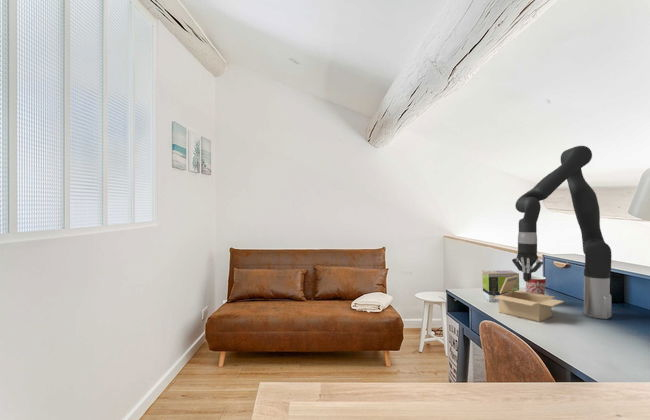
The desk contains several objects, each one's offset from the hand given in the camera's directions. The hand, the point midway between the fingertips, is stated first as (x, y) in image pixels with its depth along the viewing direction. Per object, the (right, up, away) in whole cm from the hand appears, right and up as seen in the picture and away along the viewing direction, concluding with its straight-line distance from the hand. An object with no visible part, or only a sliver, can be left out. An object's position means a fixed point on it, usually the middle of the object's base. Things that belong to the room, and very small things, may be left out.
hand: (527, 281), depth 165 cm
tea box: (+1, -15, +27) cm, 31 cm away
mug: (+14, -15, +20) cm, 29 cm away
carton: (+1, -15, -1) cm, 15 cm away
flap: (-6, -7, +8) cm, 12 cm away
